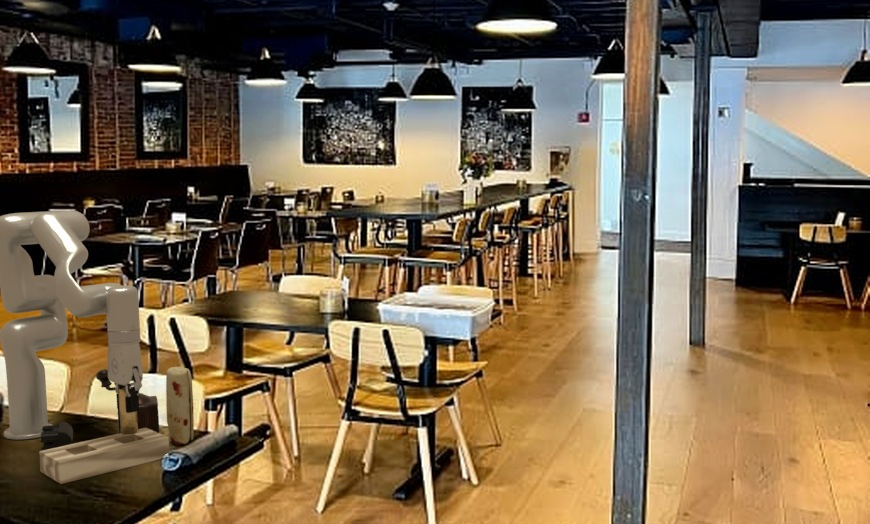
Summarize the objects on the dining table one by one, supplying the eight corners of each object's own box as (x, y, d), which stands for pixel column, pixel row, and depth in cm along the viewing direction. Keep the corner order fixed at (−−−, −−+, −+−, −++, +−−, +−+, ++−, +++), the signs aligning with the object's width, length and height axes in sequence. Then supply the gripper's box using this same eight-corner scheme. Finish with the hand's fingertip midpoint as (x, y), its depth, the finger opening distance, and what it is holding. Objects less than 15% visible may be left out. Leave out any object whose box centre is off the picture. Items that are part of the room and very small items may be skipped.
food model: (164, 439, 243) (161, 365, 241) (189, 435, 246) (187, 362, 244) (171, 449, 234) (168, 372, 232) (197, 445, 237) (194, 369, 235)
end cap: (72, 456, 230) (71, 430, 229) (41, 460, 227) (40, 433, 227) (73, 445, 239) (72, 419, 238) (44, 448, 237) (42, 422, 236)
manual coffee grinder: (158, 427, 254) (155, 363, 252) (160, 439, 244) (157, 372, 242) (98, 433, 249) (95, 368, 247) (98, 445, 239) (94, 377, 237)
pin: (118, 432, 227) (115, 388, 225) (133, 429, 229) (131, 385, 228) (125, 435, 224) (122, 391, 223) (140, 432, 227) (138, 388, 225)
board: (40, 471, 218) (39, 451, 218) (146, 446, 237) (146, 427, 236) (60, 484, 210) (59, 462, 209) (169, 456, 228) (168, 437, 228)
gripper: (94, 334, 228) (98, 407, 229) (125, 343, 216) (129, 419, 217) (123, 330, 233) (127, 401, 235) (154, 338, 221) (158, 413, 223)
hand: (128, 409), depth 226 cm, fingers closed on pin, 4 cm apart
